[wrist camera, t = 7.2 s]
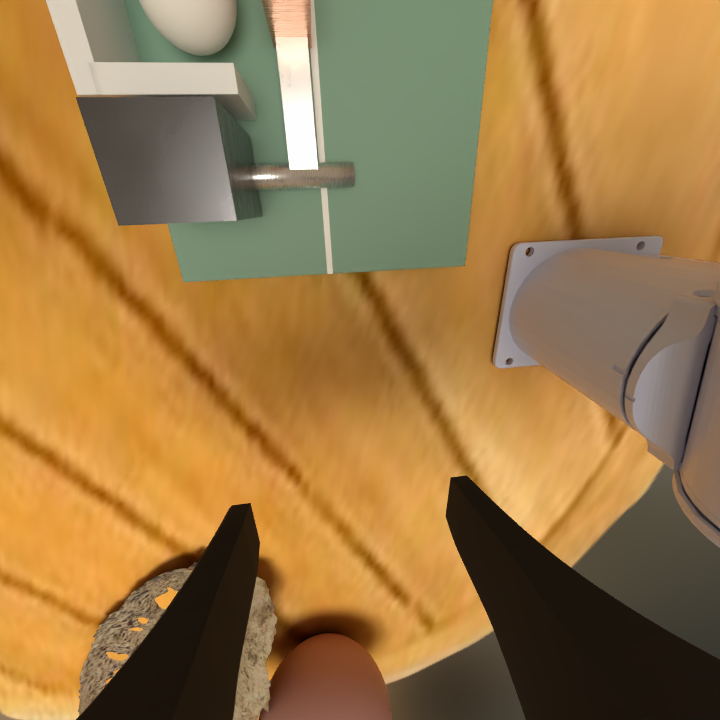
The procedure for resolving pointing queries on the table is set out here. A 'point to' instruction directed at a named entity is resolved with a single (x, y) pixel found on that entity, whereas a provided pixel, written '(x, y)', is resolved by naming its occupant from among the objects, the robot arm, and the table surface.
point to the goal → (136, 61)
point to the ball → (193, 23)
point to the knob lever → (209, 143)
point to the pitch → (352, 139)
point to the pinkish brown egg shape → (328, 683)
